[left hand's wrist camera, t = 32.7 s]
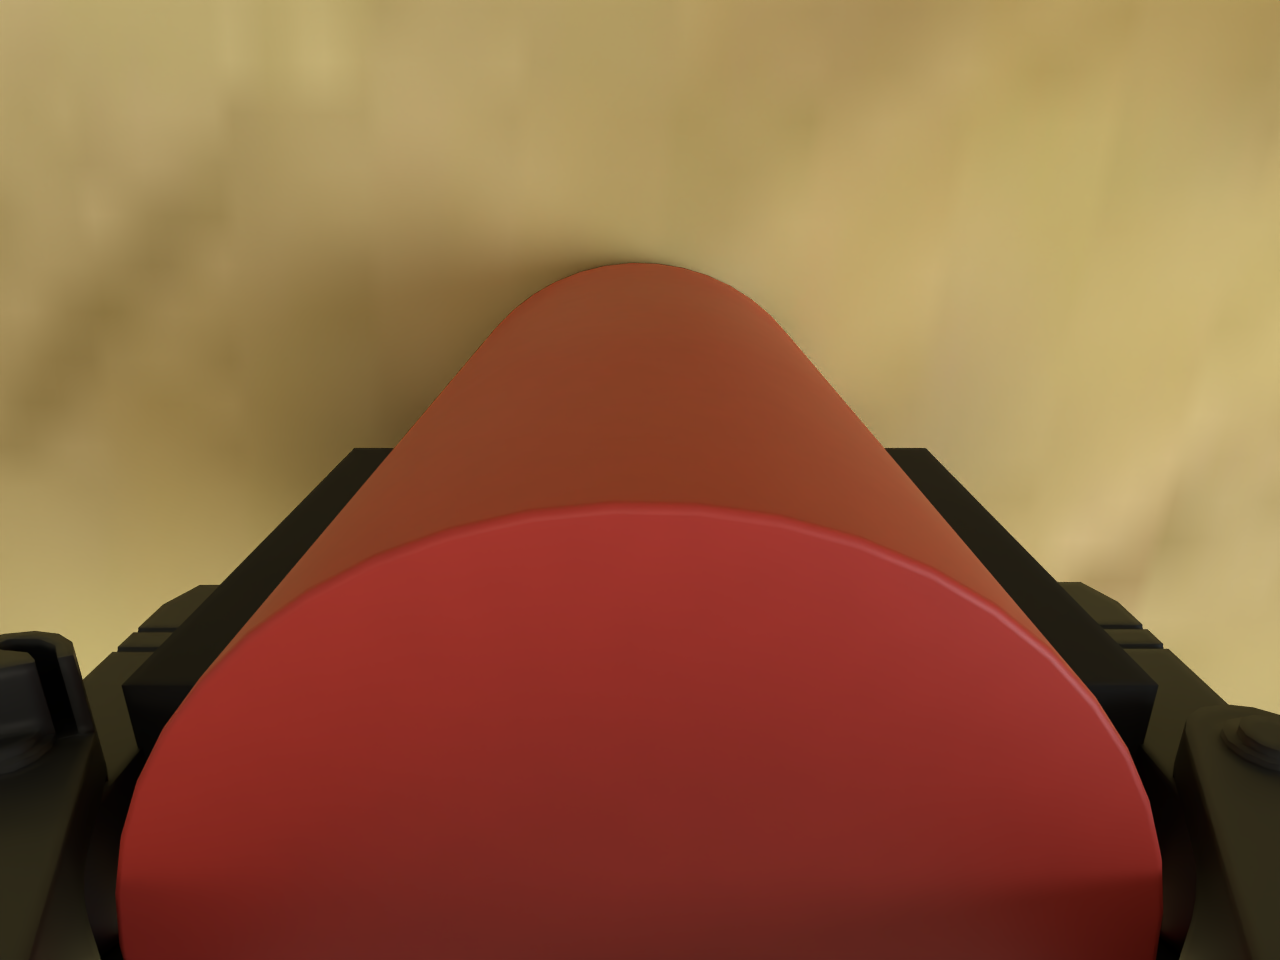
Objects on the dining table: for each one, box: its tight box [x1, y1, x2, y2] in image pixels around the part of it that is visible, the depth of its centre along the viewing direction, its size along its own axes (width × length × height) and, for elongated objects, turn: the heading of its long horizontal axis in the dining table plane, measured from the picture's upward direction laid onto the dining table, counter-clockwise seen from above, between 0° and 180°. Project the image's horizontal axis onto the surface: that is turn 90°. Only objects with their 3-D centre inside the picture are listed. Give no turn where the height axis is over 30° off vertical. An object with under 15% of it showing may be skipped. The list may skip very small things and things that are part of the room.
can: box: [115, 263, 1163, 960], centre depth 12 cm, size 7×7×12 cm
